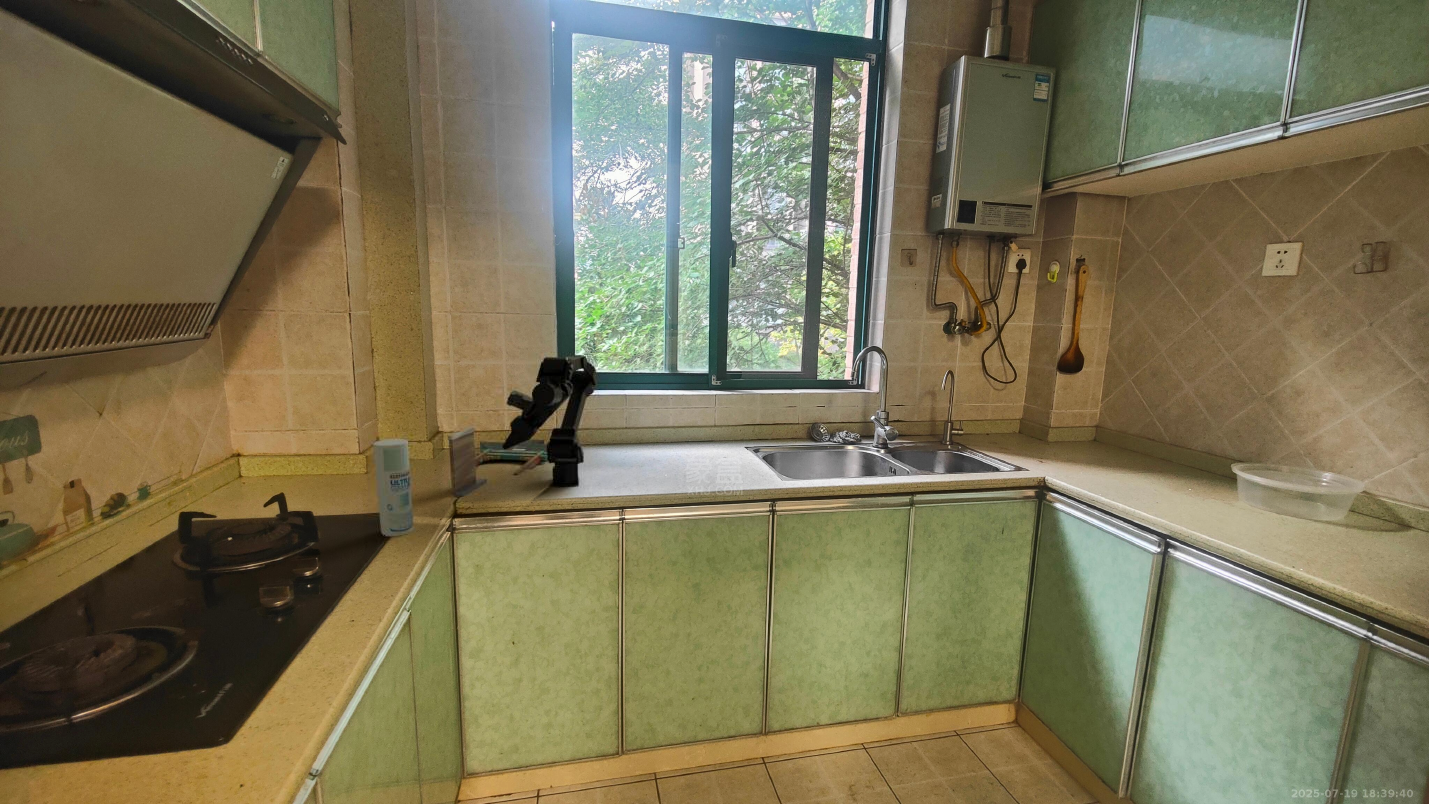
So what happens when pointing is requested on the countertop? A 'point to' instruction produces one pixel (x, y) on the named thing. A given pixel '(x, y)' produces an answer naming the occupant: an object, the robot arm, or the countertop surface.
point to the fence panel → (462, 458)
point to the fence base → (470, 487)
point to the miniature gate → (514, 453)
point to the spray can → (393, 486)
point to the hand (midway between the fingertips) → (507, 443)
